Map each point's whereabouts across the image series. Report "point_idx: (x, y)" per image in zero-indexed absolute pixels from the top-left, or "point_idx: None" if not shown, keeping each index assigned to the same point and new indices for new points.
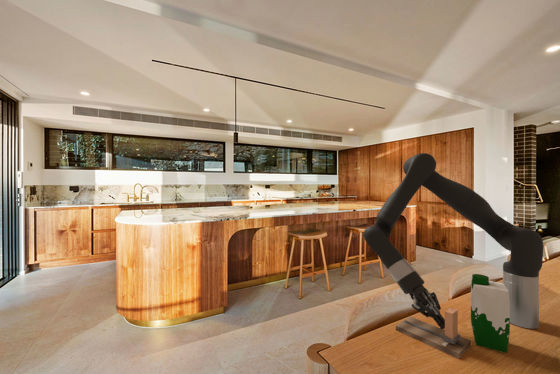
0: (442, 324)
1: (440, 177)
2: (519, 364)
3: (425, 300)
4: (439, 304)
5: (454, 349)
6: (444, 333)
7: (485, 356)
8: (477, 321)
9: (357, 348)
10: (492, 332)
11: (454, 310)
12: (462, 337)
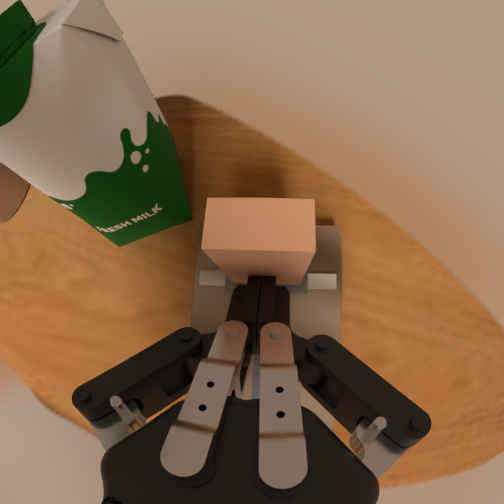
0: (289, 293)
1: None
2: (216, 126)
3: (302, 424)
4: (153, 344)
5: (327, 243)
6: (225, 312)
7: (244, 183)
8: (155, 169)
9: (491, 435)
10: (172, 142)
11: (236, 208)
12: (201, 251)
